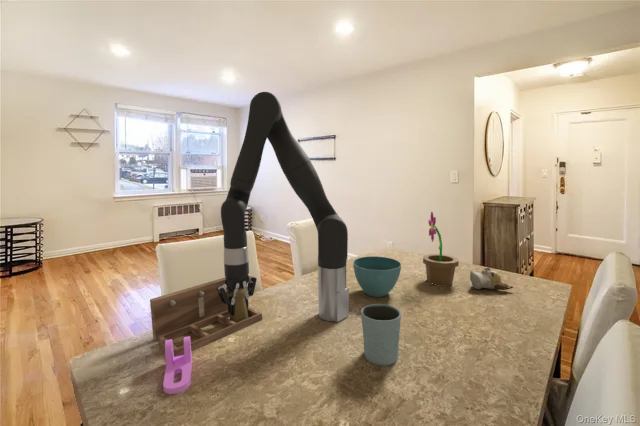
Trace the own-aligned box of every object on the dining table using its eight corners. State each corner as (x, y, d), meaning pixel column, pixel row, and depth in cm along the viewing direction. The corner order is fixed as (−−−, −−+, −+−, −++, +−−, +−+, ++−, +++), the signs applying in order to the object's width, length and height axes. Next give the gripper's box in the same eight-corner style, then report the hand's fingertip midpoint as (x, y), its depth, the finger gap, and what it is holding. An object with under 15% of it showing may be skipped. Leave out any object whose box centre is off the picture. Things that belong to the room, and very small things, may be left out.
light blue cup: (392, 372, 77) (393, 324, 75) (353, 359, 82) (354, 314, 80) (405, 351, 85) (406, 308, 84) (369, 341, 90) (370, 300, 89)
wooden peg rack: (262, 319, 104) (260, 284, 102) (176, 358, 83) (173, 314, 82) (236, 307, 114) (234, 274, 112) (153, 339, 93) (149, 299, 91)
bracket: (168, 363, 81) (166, 337, 80) (191, 358, 83) (190, 333, 82) (162, 397, 69) (159, 367, 68) (190, 390, 71) (188, 361, 70)
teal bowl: (406, 290, 128) (407, 260, 126) (390, 306, 113) (391, 272, 111) (364, 281, 138) (365, 254, 136) (344, 296, 123) (344, 265, 121)
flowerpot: (418, 275, 145) (421, 209, 141) (451, 276, 143) (455, 209, 139) (426, 287, 131) (428, 214, 127) (462, 288, 129) (466, 214, 125)
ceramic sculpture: (465, 263, 133) (500, 264, 134) (462, 283, 134) (498, 284, 135) (477, 271, 123) (516, 273, 123) (475, 293, 124) (513, 294, 124)
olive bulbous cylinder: (243, 325, 100) (242, 291, 99) (226, 323, 102) (224, 290, 100) (251, 316, 106) (250, 284, 105) (234, 315, 108) (233, 283, 106)
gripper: (223, 268, 94) (226, 323, 96) (261, 257, 104) (263, 308, 106) (209, 263, 98) (212, 316, 101) (247, 253, 109) (249, 302, 111)
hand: (238, 311), depth 104 cm, fingers closed on olive bulbous cylinder, 4 cm apart
